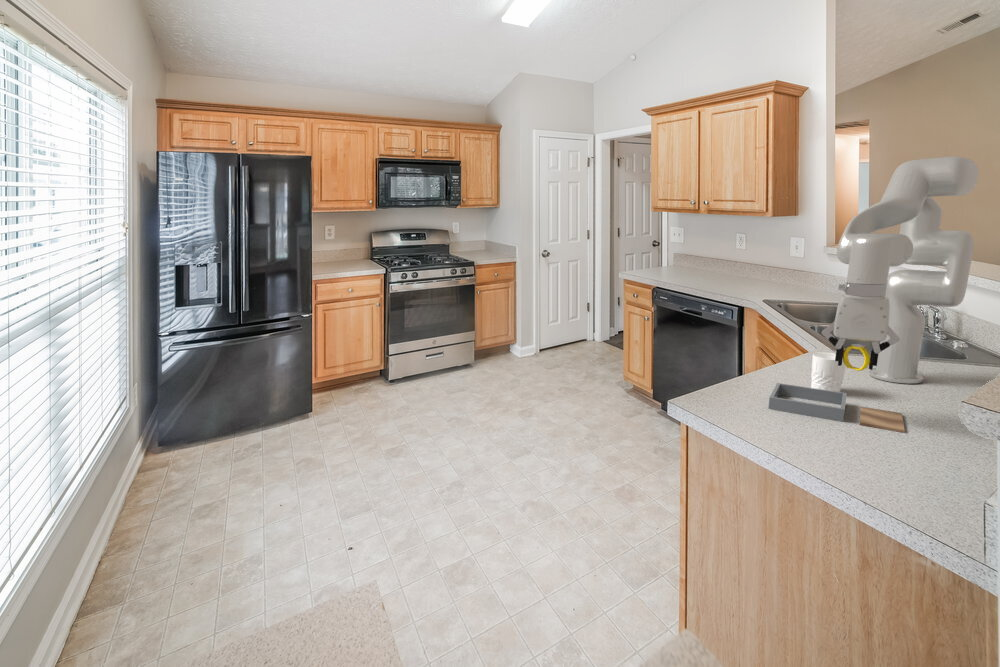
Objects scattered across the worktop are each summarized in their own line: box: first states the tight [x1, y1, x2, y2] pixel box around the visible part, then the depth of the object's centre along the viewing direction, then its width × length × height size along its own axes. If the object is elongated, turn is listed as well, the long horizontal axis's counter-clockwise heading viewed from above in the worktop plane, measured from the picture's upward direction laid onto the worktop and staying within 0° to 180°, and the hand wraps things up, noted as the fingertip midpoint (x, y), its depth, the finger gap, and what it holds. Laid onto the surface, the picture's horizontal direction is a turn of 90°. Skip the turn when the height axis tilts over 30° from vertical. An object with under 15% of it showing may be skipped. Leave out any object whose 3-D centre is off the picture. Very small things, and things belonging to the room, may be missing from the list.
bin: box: [768, 382, 848, 422], centre depth 127 cm, size 14×16×3 cm
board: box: [859, 406, 906, 433], centre depth 117 cm, size 12×8×1 cm, turn 144°
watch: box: [843, 343, 871, 372], centre depth 119 cm, size 6×3×6 cm, turn 15°
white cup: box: [810, 351, 847, 392], centre depth 137 cm, size 8×8×10 cm
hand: (855, 365), depth 119 cm, fingers closed on watch, 5 cm apart
